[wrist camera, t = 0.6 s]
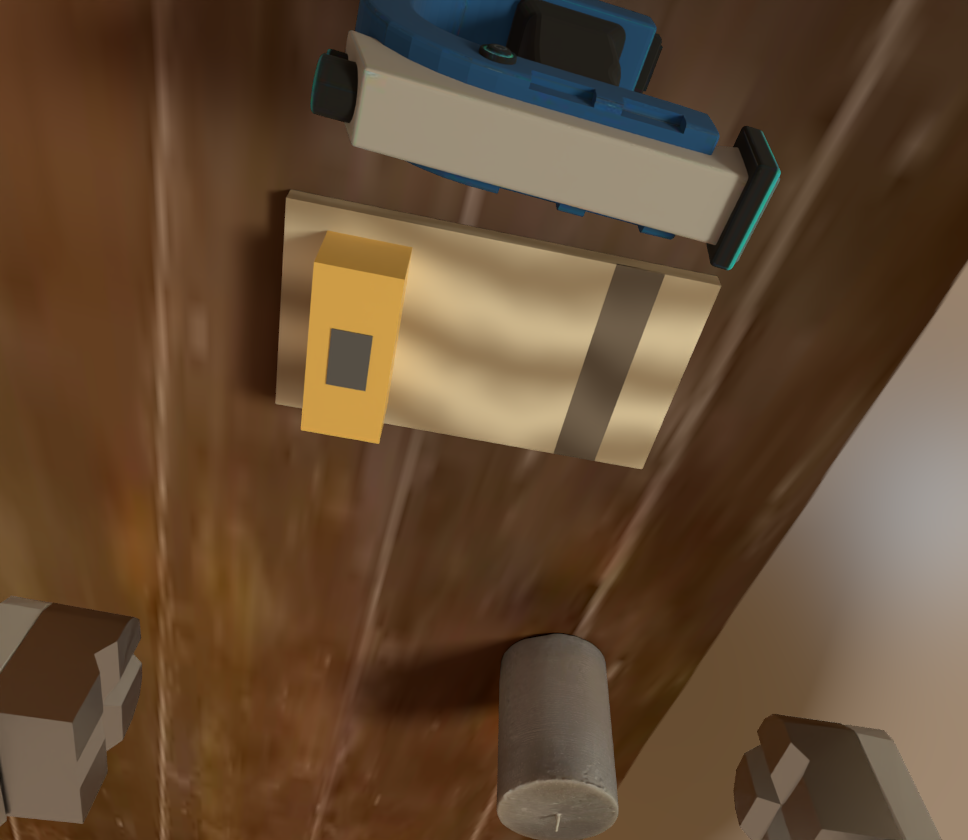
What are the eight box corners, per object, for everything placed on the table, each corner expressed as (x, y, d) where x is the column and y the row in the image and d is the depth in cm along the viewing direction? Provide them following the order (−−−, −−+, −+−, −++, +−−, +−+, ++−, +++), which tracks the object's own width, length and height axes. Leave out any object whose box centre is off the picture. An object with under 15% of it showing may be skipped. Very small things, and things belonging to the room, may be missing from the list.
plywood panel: (290, 189, 47) (285, 197, 46) (717, 276, 49) (721, 285, 48) (279, 393, 56) (275, 403, 55) (640, 458, 58) (642, 469, 58)
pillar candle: (572, 705, 78) (582, 869, 66) (481, 676, 76) (474, 840, 64) (626, 651, 72) (646, 818, 61) (529, 618, 70) (531, 786, 58)
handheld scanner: (664, 117, 44) (745, 281, 28) (377, 32, 42) (295, 159, 26) (699, 30, 41) (809, 158, 26) (394, -66, 39) (315, 12, 24)
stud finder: (327, 230, 47) (313, 262, 44) (412, 247, 48) (404, 280, 44) (313, 392, 54) (300, 430, 51) (387, 406, 55) (378, 444, 52)
